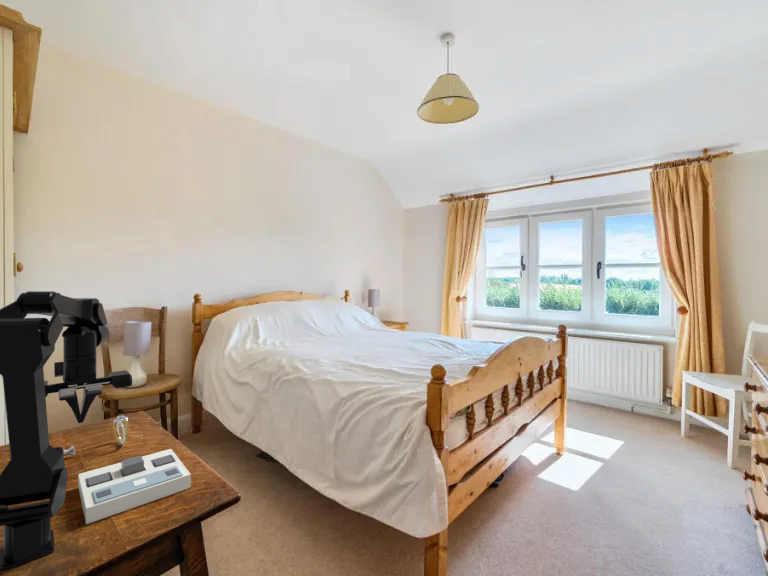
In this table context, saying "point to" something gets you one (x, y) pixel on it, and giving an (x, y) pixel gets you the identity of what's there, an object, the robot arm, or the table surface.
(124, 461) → the button middle
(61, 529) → the table surface
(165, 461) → the button right
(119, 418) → the ring
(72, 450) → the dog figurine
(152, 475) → the button board
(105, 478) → the button left
